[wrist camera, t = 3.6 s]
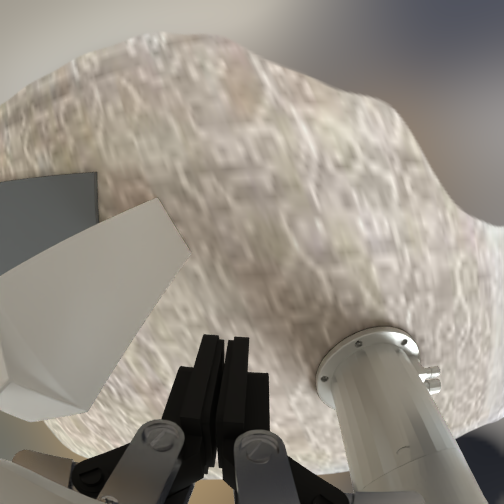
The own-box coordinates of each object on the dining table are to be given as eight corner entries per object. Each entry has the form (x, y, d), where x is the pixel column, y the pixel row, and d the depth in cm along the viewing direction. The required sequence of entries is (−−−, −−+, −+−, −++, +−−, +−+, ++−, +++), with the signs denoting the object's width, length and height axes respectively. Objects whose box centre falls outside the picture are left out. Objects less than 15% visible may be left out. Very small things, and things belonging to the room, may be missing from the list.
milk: (111, 229, 26) (-81, 357, 5) (159, 195, 25) (-74, 317, 4) (144, 281, 27) (2, 462, 6) (194, 253, 26) (53, 474, 5)
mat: (96, 171, 24) (93, 172, 23) (107, 297, 28) (105, 300, 28) (-29, 187, 24) (-32, 187, 24) (-16, 275, 29) (-19, 276, 28)
